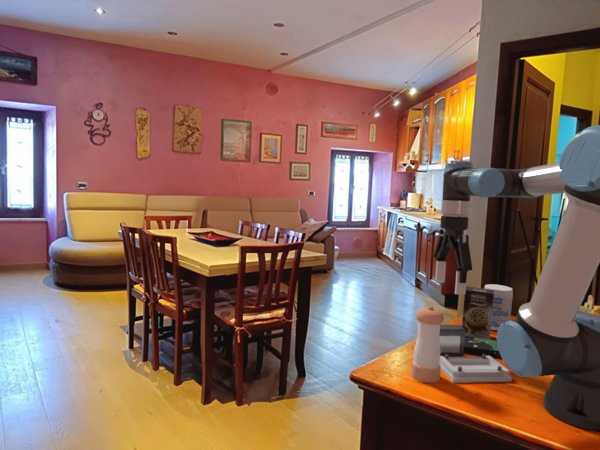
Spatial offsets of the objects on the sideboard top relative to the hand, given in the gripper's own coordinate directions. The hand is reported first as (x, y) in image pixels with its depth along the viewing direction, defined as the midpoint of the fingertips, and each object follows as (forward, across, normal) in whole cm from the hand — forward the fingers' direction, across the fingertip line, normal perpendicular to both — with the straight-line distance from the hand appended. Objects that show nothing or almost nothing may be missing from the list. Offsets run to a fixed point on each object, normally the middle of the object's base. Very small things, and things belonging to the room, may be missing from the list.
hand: (449, 288), depth 132 cm
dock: (+21, -11, -3) cm, 24 cm away
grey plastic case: (+21, 0, 0) cm, 21 cm away
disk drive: (+21, +5, -13) cm, 25 cm away
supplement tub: (+21, +25, -30) cm, 44 cm away
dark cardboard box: (+21, +16, -18) cm, 32 cm away
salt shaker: (+21, -14, +11) cm, 27 cm away
